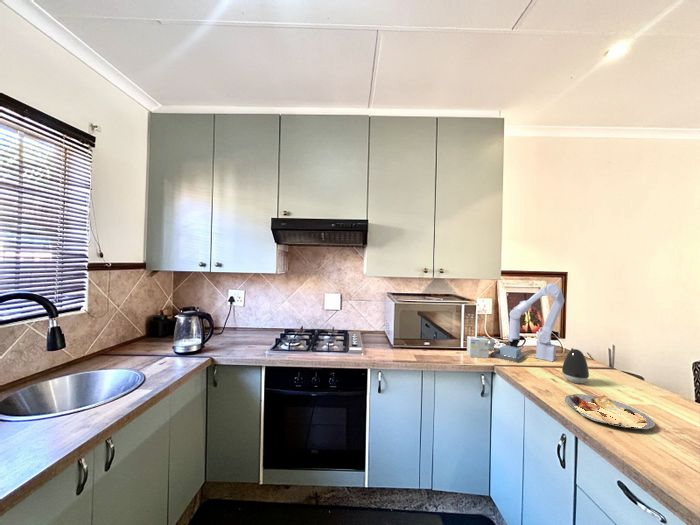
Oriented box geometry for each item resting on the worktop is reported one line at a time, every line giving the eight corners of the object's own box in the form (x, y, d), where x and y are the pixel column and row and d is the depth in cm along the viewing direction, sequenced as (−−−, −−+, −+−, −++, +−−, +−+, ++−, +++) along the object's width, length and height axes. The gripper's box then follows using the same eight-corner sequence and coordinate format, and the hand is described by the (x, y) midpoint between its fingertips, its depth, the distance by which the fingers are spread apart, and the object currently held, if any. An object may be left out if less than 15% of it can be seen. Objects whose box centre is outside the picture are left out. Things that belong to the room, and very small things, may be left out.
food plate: (553, 396, 127) (553, 388, 127) (614, 401, 125) (614, 393, 124) (594, 431, 102) (595, 421, 102) (672, 438, 100) (672, 428, 100)
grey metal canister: (495, 349, 196) (495, 340, 196) (492, 351, 192) (493, 341, 192) (487, 347, 199) (487, 338, 199) (484, 349, 195) (484, 339, 195)
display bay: (524, 357, 180) (524, 354, 180) (517, 362, 170) (517, 359, 170) (498, 352, 189) (498, 348, 189) (490, 356, 180) (490, 353, 180)
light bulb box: (484, 354, 183) (485, 336, 183) (488, 358, 177) (489, 339, 177) (466, 353, 184) (466, 335, 184) (469, 357, 177) (470, 338, 177)
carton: (520, 355, 184) (521, 348, 184) (516, 358, 178) (516, 350, 178) (505, 352, 190) (505, 345, 190) (500, 354, 185) (500, 347, 185)
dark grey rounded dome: (583, 379, 148) (584, 347, 148) (592, 387, 138) (593, 353, 138) (558, 375, 152) (559, 345, 152) (565, 383, 142) (567, 350, 142)
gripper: (510, 326, 196) (510, 347, 196) (503, 329, 186) (502, 352, 186) (523, 328, 191) (522, 350, 191) (516, 331, 181) (515, 354, 181)
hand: (513, 351), depth 188 cm, fingers closed
